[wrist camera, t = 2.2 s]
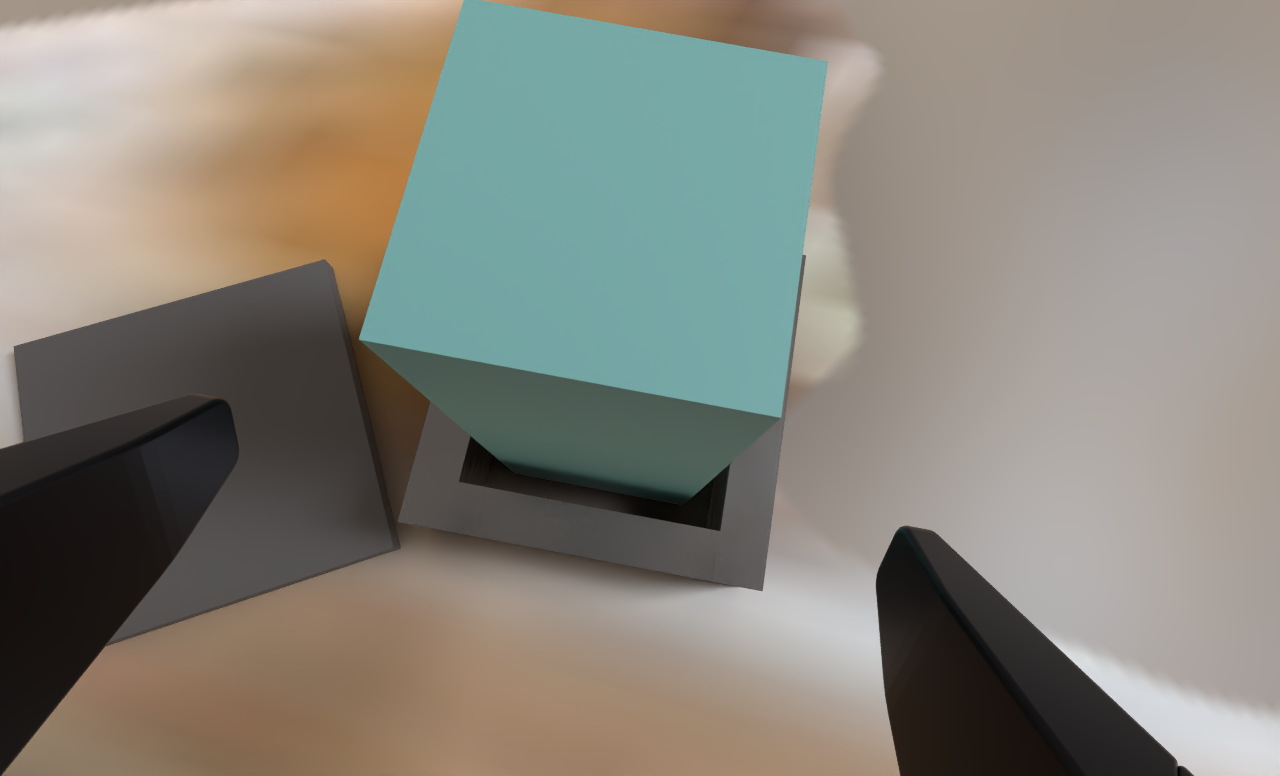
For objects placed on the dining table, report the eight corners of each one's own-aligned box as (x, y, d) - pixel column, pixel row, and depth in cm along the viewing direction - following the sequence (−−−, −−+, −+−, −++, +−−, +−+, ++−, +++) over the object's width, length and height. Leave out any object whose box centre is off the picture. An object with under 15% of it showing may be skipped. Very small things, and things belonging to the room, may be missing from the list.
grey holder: (740, 586, 19) (762, 591, 16) (431, 528, 19) (396, 522, 16) (779, 298, 21) (805, 255, 18) (504, 247, 21) (486, 197, 18)
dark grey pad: (67, 658, 18) (48, 662, 17) (31, 352, 20) (13, 346, 19) (400, 548, 19) (393, 547, 18) (332, 267, 21) (324, 259, 20)
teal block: (683, 505, 19) (781, 417, 8) (514, 473, 19) (358, 340, 8) (709, 344, 21) (827, 61, 9) (551, 315, 21) (465, -3, 9)
